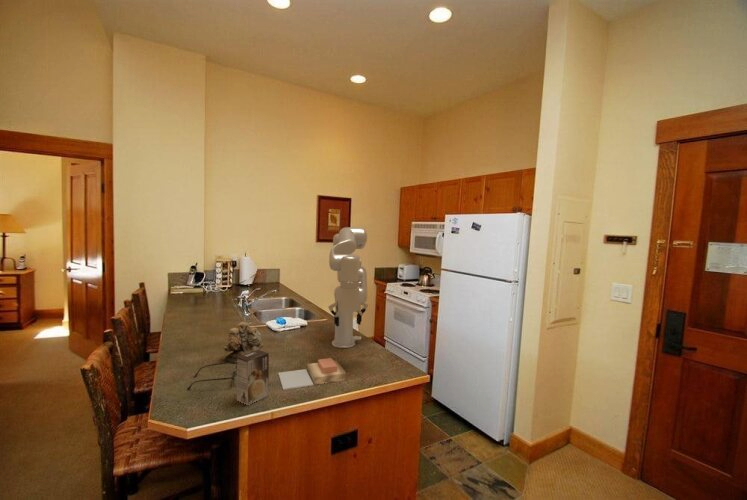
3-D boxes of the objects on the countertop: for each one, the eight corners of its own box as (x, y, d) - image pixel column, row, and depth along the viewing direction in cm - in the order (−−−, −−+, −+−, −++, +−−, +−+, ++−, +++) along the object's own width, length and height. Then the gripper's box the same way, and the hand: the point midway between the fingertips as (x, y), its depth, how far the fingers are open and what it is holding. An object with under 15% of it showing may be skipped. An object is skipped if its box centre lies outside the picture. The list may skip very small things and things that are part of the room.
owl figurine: (226, 367, 147) (226, 328, 145) (219, 358, 156) (219, 322, 155) (267, 358, 158) (267, 322, 157) (258, 350, 167) (258, 316, 166)
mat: (305, 370, 146) (306, 369, 145) (313, 385, 132) (313, 384, 132) (278, 374, 141) (278, 372, 141) (283, 390, 127) (283, 388, 127)
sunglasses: (194, 375, 138) (194, 363, 138) (238, 371, 143) (239, 360, 143) (184, 394, 123) (184, 381, 122) (234, 389, 127) (234, 376, 127)
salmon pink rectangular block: (331, 363, 147) (331, 358, 146) (337, 371, 138) (337, 366, 138) (317, 365, 144) (317, 359, 144) (322, 373, 136) (323, 367, 136)
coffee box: (257, 390, 126) (257, 349, 125) (269, 395, 123) (269, 352, 122) (235, 401, 118) (236, 356, 117) (247, 406, 115) (248, 360, 114)
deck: (336, 366, 150) (336, 360, 150) (345, 380, 137) (346, 373, 137) (307, 370, 145) (307, 364, 145) (314, 385, 132) (314, 377, 132)
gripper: (364, 283, 150) (363, 321, 150) (326, 284, 143) (325, 323, 144) (371, 285, 143) (369, 325, 144) (331, 287, 136) (330, 328, 137)
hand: (347, 324), depth 144 cm, fingers open, 9 cm apart
